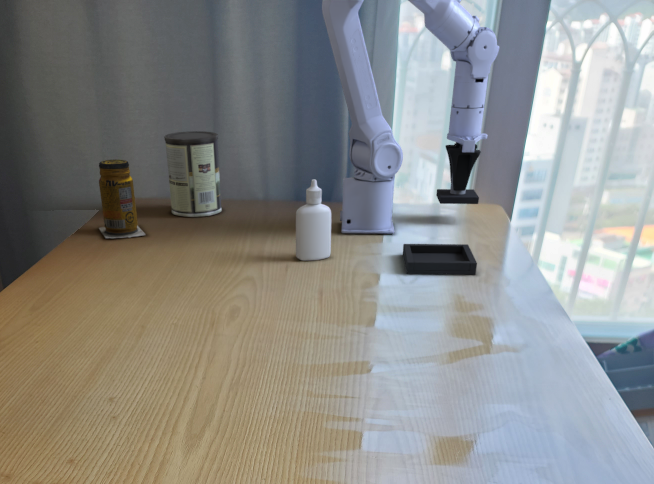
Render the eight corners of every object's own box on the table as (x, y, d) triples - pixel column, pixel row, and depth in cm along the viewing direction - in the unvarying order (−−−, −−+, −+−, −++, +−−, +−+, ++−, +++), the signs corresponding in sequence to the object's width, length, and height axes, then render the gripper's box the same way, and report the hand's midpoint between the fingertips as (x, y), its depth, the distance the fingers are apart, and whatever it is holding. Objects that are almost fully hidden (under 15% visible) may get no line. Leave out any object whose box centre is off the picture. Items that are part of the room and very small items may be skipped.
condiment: (137, 225, 143) (129, 157, 136) (146, 236, 136) (138, 164, 129) (98, 229, 141) (88, 159, 134) (105, 240, 134) (96, 168, 127)
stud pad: (439, 203, 138) (442, 176, 136) (436, 195, 144) (438, 169, 141) (478, 204, 138) (481, 176, 135) (473, 195, 143) (476, 169, 141)
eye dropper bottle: (297, 253, 125) (297, 176, 119) (331, 254, 125) (333, 177, 118) (294, 261, 122) (294, 182, 115) (328, 262, 121) (330, 182, 114)
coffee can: (192, 203, 157) (186, 129, 150) (231, 209, 153) (228, 133, 145) (160, 213, 150) (153, 136, 142) (201, 219, 146) (195, 140, 138)
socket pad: (406, 273, 115) (407, 262, 114) (402, 254, 124) (403, 243, 123) (475, 274, 115) (477, 263, 114) (466, 255, 123) (468, 244, 122)
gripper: (497, 111, 126) (485, 196, 133) (484, 102, 138) (474, 180, 145) (455, 111, 126) (445, 196, 134) (445, 102, 138) (437, 180, 146)
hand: (458, 188), depth 140 cm, fingers closed on stud pad, 3 cm apart
